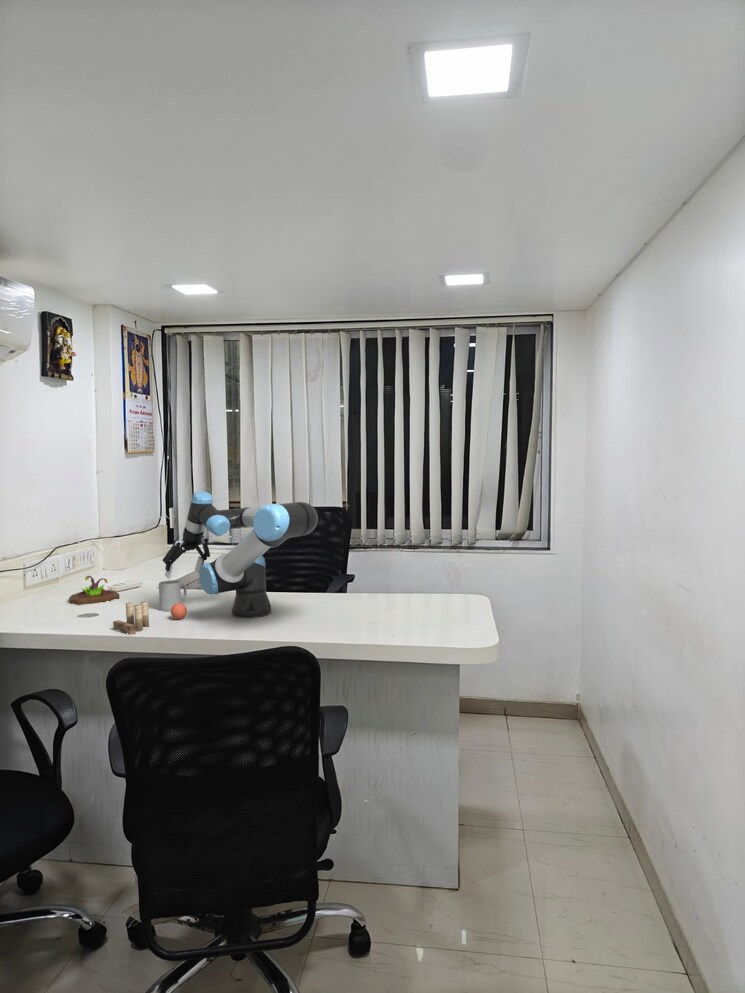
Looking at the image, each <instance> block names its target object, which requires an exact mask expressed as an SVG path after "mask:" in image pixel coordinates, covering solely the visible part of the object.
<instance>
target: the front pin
mask: <svg viewBox="0 0 745 993" xmlns="http://www.w3.org/2000/svg"><path fill="white" fill-rule="evenodd" d="M139 605H142V618H143V627H147V628H149V627H150V621H149V602H148V601H141V602H140V604H139Z"/></svg>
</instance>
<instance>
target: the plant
mask: <svg viewBox="0 0 745 993" xmlns="http://www.w3.org/2000/svg"><path fill="white" fill-rule="evenodd" d="M89 578H90V582H91V584H90V585H89V586H85V588H83V587H81V590H82V591H80V592H76V593H73V594H71V595H70V596H69V597H68V601H69V602H68V603H69V604H72V605H77V606H82V605H84V606H85V605H92V604H99V603H100V602H103V603H106V601H109V602H112V601H115V600H114V599H117V600H119V599H120V593H118V592H117V591H116V590H111V589H104V587H105V584H106V583H108V582H109V580H108V579H107V578H104V577H102V578H99V579H98V580H97V581H96V582H95V578H93V577H92V576H91V575H87V576H85V577H84V580H85V581H87V580H89ZM103 580H104V583H105V584H102V585H100V586H99V584H100V581H103ZM111 600H112V601H111Z"/></svg>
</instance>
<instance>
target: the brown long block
mask: <svg viewBox="0 0 745 993" xmlns="http://www.w3.org/2000/svg"><path fill="white" fill-rule="evenodd" d="M112 624H113V625H112V627H113V630H114V629H116V630H119V631H122V632H121V633H123V632H125V633H124V634H126V633H128V634H127V635H129V634H132V635H135V633H137V631H136V630H135V624H134V625H133V624H129V623H127V621H122V620H119V619H118V620H113V621H112ZM116 630H115V631H116ZM119 631H118V632H119Z"/></svg>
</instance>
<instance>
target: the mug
mask: <svg viewBox="0 0 745 993" xmlns="http://www.w3.org/2000/svg"><path fill="white" fill-rule="evenodd" d="M181 588H183V595H182V591H181V590H182V589H181ZM187 592H188V591H187V586H186V585H185V584H184V583H181V581H180V580H173V579H172V580H171V579H170V580H163V581H160V582H158V593H159V595H158V596H159V598H158V600H159V611H161V610H162V611H161V612H171V608H172V606H173V605H175V604H177V603H182V601H183V600H186V598H187V595H188V593H187Z"/></svg>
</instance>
